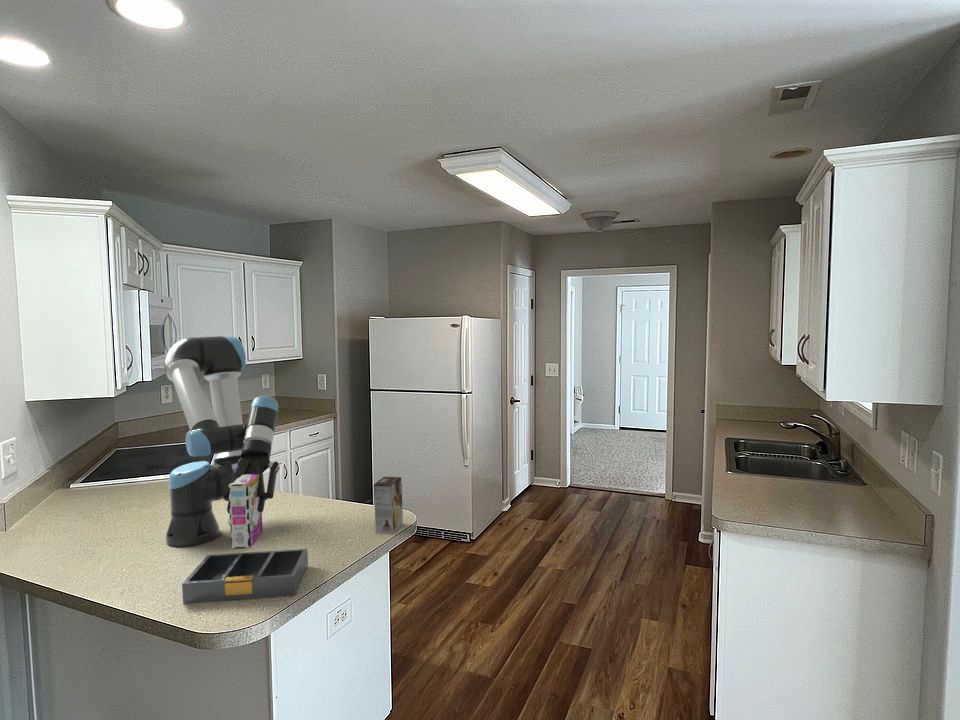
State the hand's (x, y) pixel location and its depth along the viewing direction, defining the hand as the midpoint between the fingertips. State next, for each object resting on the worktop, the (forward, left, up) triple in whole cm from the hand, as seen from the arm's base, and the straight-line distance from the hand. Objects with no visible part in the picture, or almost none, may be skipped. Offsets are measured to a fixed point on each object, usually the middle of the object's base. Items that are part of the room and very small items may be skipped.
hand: (242, 523), depth 142 cm
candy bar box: (0, +4, -6) cm, 7 cm away
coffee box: (+34, +38, -18) cm, 54 cm away
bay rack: (0, +4, -17) cm, 18 cm away
